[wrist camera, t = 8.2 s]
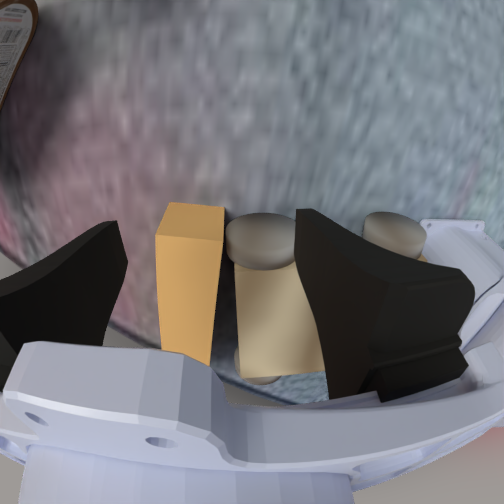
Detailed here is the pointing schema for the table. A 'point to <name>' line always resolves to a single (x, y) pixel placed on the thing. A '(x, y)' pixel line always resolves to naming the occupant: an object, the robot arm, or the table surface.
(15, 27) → the tin
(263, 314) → the trolley
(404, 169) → the table surface
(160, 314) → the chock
